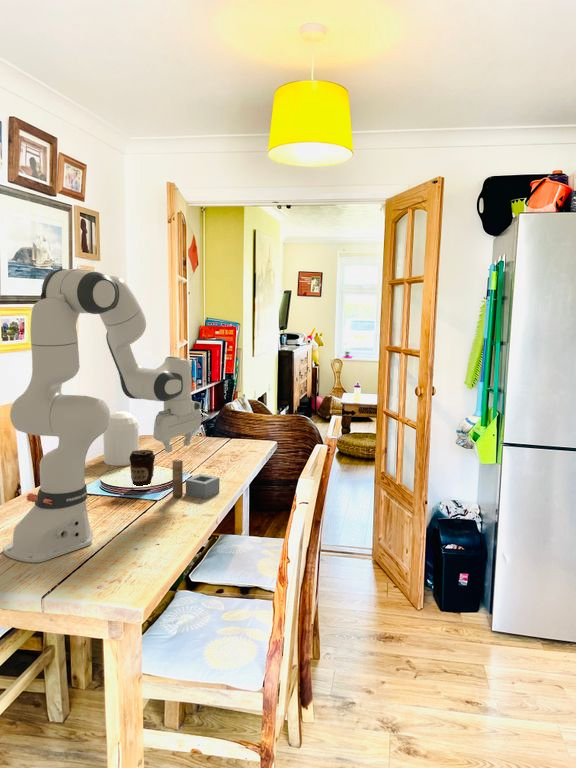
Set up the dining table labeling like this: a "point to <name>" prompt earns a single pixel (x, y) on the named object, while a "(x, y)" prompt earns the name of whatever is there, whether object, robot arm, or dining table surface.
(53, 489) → the robot arm
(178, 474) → the dowel
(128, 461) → the container
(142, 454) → the coffee cup
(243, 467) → the dining table surface
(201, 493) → the socket block
